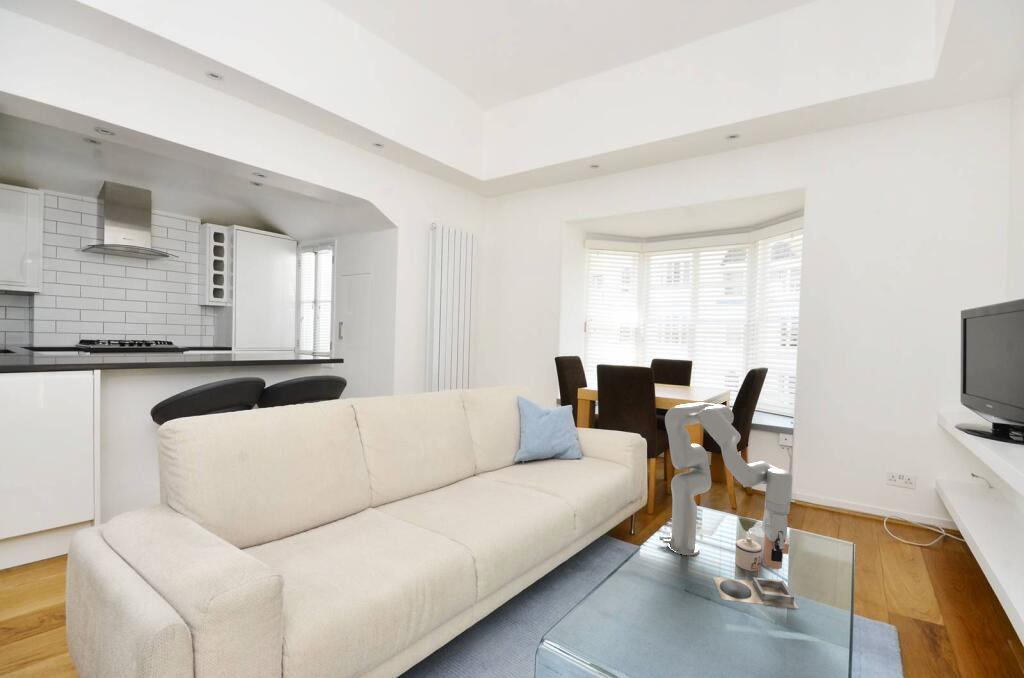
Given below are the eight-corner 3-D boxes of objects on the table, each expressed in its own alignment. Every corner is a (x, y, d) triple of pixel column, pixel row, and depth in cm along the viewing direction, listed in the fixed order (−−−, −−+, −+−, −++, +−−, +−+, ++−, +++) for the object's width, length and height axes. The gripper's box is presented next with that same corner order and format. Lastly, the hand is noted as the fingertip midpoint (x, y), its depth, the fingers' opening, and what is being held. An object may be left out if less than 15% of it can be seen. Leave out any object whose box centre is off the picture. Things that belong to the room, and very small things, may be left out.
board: (721, 602, 164) (722, 592, 164) (712, 579, 178) (713, 570, 178) (799, 612, 160) (799, 601, 160) (783, 587, 174) (784, 577, 173)
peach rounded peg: (765, 567, 165) (768, 539, 164) (760, 558, 171) (762, 531, 170) (789, 570, 164) (792, 542, 163) (783, 561, 170) (785, 533, 169)
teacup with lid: (755, 576, 180) (757, 546, 180) (730, 567, 187) (732, 537, 186) (767, 565, 189) (768, 536, 188) (742, 556, 195) (744, 528, 194)
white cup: (764, 551, 199) (765, 528, 198) (772, 562, 191) (774, 537, 191) (744, 550, 200) (745, 527, 199) (751, 560, 192) (753, 536, 191)
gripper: (757, 494, 175) (753, 542, 176) (774, 515, 158) (769, 568, 160) (780, 496, 173) (775, 544, 175) (799, 518, 156) (794, 571, 158)
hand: (772, 555), depth 167 cm, fingers closed on peach rounded peg, 6 cm apart
